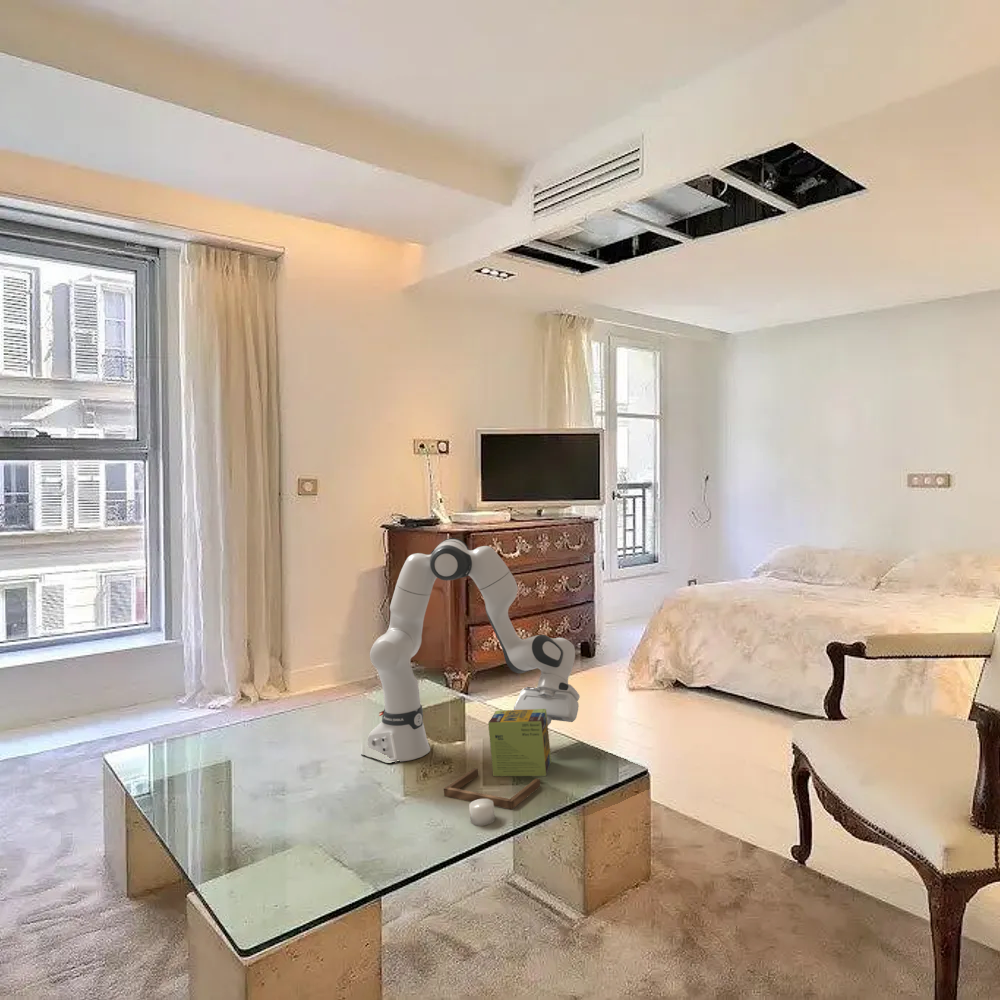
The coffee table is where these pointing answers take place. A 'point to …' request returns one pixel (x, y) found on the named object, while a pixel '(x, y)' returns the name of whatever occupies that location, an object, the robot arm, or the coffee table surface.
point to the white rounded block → (482, 812)
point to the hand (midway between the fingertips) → (538, 731)
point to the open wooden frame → (456, 792)
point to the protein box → (519, 743)
